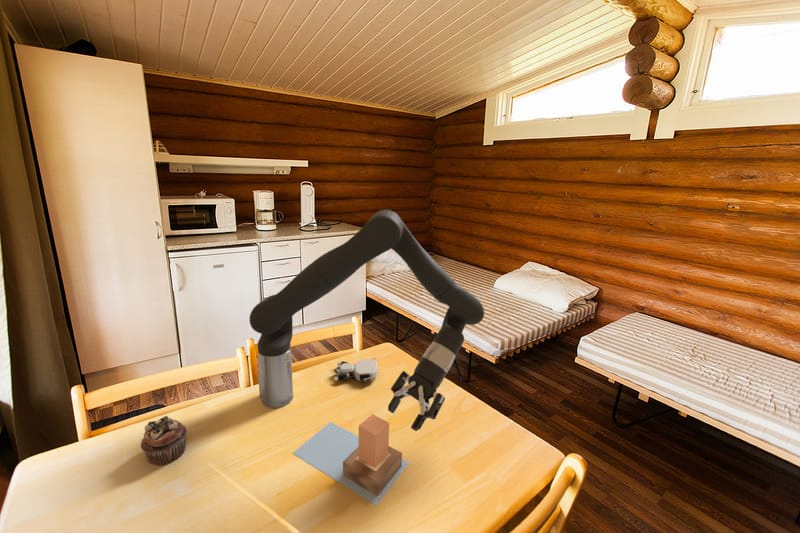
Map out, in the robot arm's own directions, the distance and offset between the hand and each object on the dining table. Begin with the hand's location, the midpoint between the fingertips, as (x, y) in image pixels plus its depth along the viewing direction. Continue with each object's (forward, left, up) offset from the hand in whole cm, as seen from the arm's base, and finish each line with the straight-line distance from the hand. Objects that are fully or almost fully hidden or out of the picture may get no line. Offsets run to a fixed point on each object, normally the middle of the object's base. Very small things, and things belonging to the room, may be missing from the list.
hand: (401, 420), depth 90 cm
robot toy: (-31, +22, -11) cm, 40 cm away
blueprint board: (-9, -8, -10) cm, 16 cm away
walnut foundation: (-2, -8, -10) cm, 13 cm away
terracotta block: (-2, -8, -6) cm, 10 cm away
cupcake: (-48, -32, -11) cm, 59 cm away
